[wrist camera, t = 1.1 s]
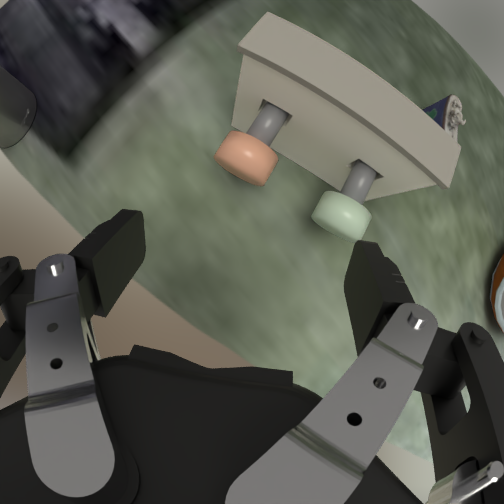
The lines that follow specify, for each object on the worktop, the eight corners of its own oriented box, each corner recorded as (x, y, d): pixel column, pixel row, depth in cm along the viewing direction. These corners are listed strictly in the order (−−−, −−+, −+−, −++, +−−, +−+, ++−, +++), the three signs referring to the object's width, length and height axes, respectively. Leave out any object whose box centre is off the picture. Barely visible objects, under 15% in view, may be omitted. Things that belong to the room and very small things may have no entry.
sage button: (304, 216, 29) (322, 212, 24) (341, 147, 29) (363, 132, 25) (345, 242, 30) (369, 243, 25) (379, 173, 30) (404, 164, 25)
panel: (226, 125, 34) (237, 45, 18) (245, 98, 34) (267, 11, 18) (359, 206, 37) (448, 188, 20) (372, 177, 37) (461, 146, 20)
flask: (416, 169, 38) (466, 153, 27) (400, 160, 37) (450, 140, 27) (426, 118, 38) (471, 95, 27) (411, 108, 37) (455, 81, 27)
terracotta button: (213, 163, 28) (213, 148, 23) (257, 96, 28) (265, 72, 23) (259, 189, 29) (268, 180, 24) (300, 120, 29) (315, 100, 24)
